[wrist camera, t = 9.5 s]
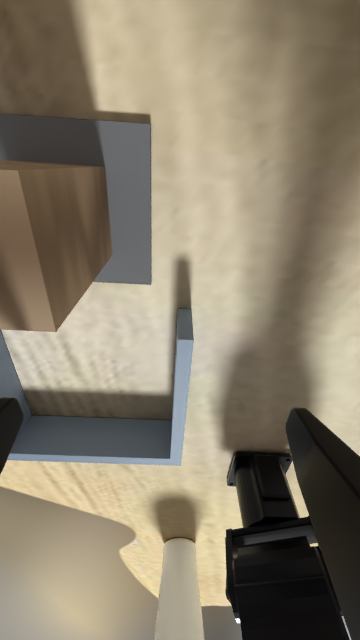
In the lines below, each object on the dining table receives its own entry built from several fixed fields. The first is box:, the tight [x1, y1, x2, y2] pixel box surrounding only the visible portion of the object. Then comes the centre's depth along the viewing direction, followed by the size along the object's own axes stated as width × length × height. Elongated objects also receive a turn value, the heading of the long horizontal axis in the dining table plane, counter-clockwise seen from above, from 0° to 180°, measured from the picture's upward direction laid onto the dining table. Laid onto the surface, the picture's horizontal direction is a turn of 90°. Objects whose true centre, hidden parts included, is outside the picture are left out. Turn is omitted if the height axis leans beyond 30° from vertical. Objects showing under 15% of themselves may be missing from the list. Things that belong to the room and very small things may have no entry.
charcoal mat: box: [0, 114, 151, 285], centre depth 16 cm, size 9×10×1 cm
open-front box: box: [0, 308, 194, 466], centre depth 21 cm, size 14×16×4 cm
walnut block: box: [0, 160, 113, 332], centre depth 12 cm, size 5×5×9 cm
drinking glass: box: [154, 538, 204, 640], centre depth 36 cm, size 7×7×15 cm
